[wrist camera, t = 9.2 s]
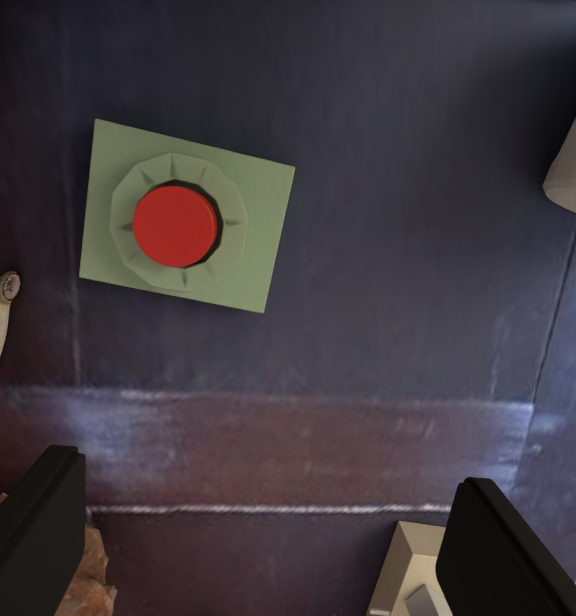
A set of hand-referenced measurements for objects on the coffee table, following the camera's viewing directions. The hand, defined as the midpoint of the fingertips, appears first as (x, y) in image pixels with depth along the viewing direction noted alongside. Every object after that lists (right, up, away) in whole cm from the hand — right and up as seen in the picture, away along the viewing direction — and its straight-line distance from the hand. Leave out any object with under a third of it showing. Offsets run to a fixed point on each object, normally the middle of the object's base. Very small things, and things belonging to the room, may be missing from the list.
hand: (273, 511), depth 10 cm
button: (-5, +9, +10) cm, 14 cm away
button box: (-5, +10, +14) cm, 18 cm away
